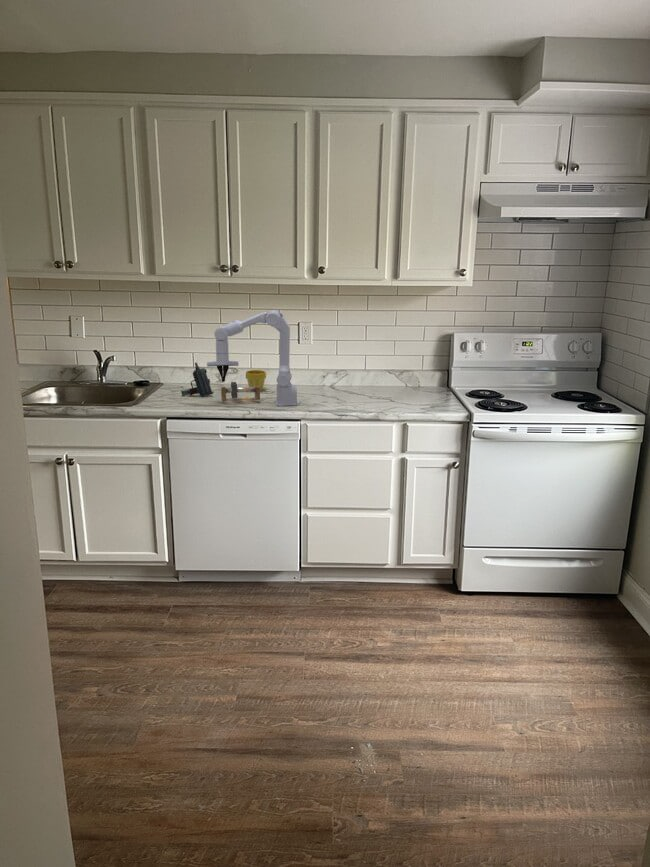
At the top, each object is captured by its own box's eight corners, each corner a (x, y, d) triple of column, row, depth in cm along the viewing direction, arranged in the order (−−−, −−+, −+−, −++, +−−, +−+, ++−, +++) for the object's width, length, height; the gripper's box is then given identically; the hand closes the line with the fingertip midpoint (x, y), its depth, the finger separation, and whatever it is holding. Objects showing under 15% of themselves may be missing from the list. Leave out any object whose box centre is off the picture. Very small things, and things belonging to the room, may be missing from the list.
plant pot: (264, 392, 324) (264, 374, 321) (244, 392, 324) (244, 373, 322) (267, 388, 334) (267, 369, 331) (247, 387, 334) (247, 369, 331)
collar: (236, 394, 307) (235, 381, 306) (237, 398, 301) (237, 384, 300) (231, 395, 307) (230, 382, 305) (232, 398, 301) (231, 385, 299)
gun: (174, 367, 312) (203, 360, 312) (184, 400, 317) (213, 392, 317) (173, 369, 310) (202, 361, 309) (184, 401, 315) (213, 393, 314)
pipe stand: (258, 399, 310) (258, 385, 308) (260, 402, 305) (260, 387, 303) (221, 401, 307) (220, 386, 304) (222, 404, 301) (221, 389, 299)
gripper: (237, 350, 302) (237, 379, 306) (206, 351, 299) (207, 380, 303) (238, 353, 296) (239, 382, 300) (206, 354, 293) (207, 383, 297)
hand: (223, 381), depth 301 cm, fingers closed
